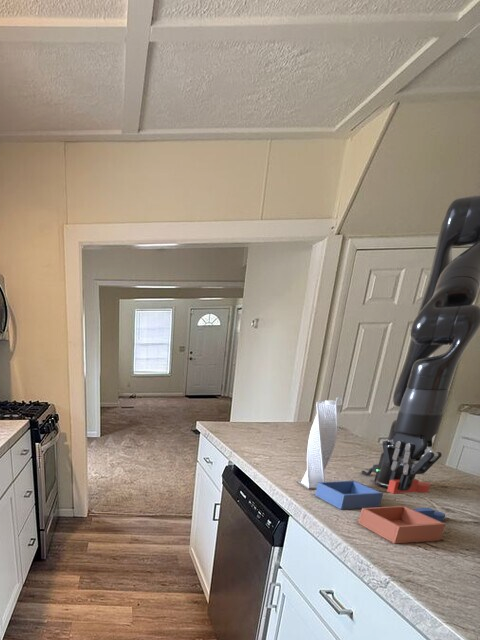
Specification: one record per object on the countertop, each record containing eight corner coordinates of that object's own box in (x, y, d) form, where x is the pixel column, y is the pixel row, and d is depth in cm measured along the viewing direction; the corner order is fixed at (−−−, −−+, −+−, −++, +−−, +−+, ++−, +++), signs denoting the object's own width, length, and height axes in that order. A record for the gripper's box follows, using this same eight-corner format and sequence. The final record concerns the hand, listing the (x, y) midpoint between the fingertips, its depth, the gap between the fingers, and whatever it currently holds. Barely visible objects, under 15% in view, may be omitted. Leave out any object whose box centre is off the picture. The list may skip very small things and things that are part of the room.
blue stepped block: (414, 523, 100) (417, 512, 99) (402, 517, 103) (405, 507, 102) (447, 521, 101) (450, 510, 100) (434, 515, 104) (437, 505, 103)
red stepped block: (396, 495, 90) (399, 483, 89) (383, 490, 93) (386, 478, 92) (433, 492, 91) (436, 480, 90) (419, 487, 94) (422, 475, 93)
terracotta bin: (358, 523, 100) (361, 508, 99) (399, 520, 101) (404, 505, 100) (394, 543, 90) (399, 526, 88) (440, 540, 91) (446, 523, 89)
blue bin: (315, 495, 119) (317, 482, 118) (350, 493, 121) (353, 480, 119) (340, 509, 109) (344, 495, 107) (379, 507, 110) (383, 493, 108)
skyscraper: (333, 490, 123) (354, 396, 112) (307, 490, 123) (325, 396, 113) (319, 482, 131) (338, 393, 120) (294, 482, 131) (311, 393, 120)
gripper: (468, 415, 79) (440, 497, 85) (409, 406, 92) (389, 478, 98) (433, 416, 78) (408, 499, 85) (379, 407, 91) (361, 480, 97)
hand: (398, 488), depth 91 cm, fingers closed on red stepped block, 2 cm apart
